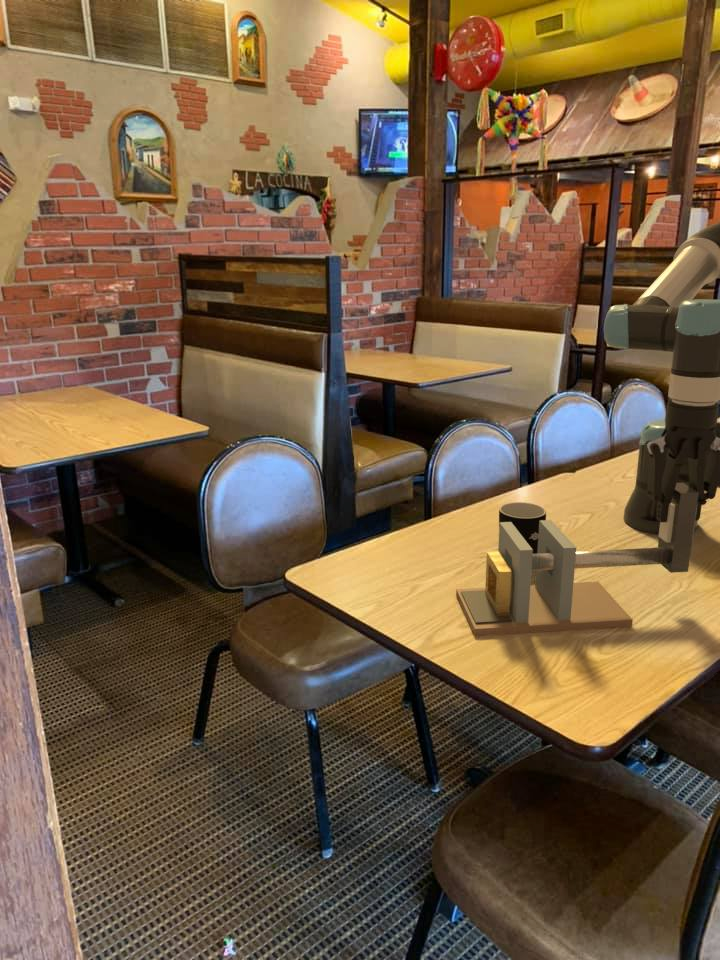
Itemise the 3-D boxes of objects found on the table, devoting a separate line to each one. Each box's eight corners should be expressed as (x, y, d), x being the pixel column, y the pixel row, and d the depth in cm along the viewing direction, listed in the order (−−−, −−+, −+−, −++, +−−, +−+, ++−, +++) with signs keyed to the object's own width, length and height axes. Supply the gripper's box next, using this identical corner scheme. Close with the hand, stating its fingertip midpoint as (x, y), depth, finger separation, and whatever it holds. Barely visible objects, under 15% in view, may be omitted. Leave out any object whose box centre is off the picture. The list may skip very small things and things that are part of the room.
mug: (529, 571, 137) (532, 521, 134) (488, 559, 143) (490, 511, 140) (557, 551, 146) (561, 504, 143) (518, 540, 152) (520, 495, 149)
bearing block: (597, 587, 130) (604, 515, 126) (631, 626, 117) (640, 546, 113) (456, 595, 128) (458, 522, 124) (474, 635, 115) (477, 555, 111)
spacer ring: (496, 593, 126) (498, 551, 123) (509, 615, 118) (511, 571, 116) (485, 594, 126) (486, 551, 123) (497, 616, 118) (499, 572, 115)
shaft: (673, 559, 125) (682, 482, 120) (687, 571, 120) (698, 492, 116) (520, 567, 123) (524, 489, 118) (529, 580, 118) (534, 499, 114)
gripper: (728, 394, 118) (709, 528, 125) (633, 397, 116) (619, 532, 124) (756, 404, 111) (734, 545, 118) (655, 407, 109) (638, 549, 117)
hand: (675, 538), depth 121 cm, fingers closed on shaft, 3 cm apart
